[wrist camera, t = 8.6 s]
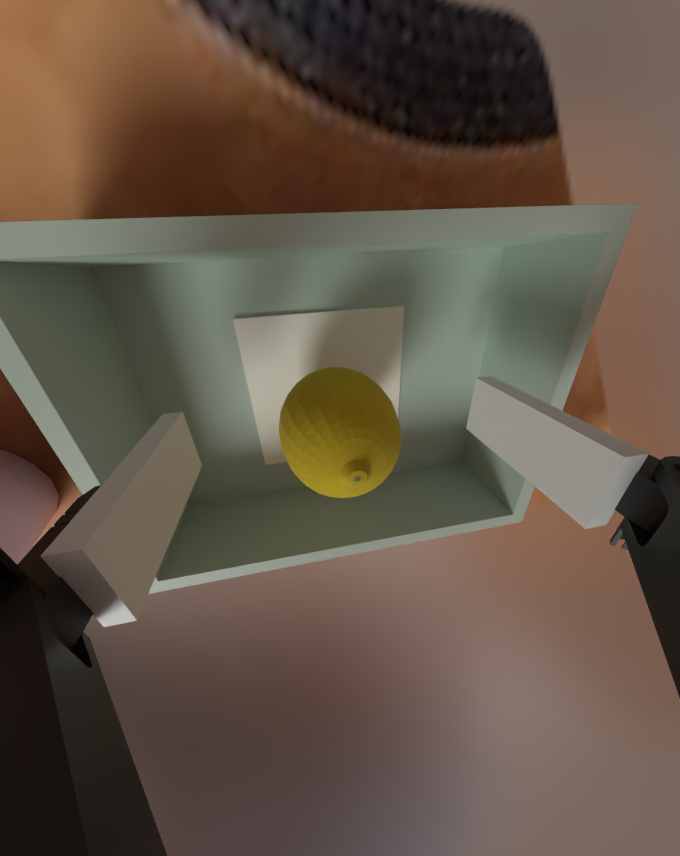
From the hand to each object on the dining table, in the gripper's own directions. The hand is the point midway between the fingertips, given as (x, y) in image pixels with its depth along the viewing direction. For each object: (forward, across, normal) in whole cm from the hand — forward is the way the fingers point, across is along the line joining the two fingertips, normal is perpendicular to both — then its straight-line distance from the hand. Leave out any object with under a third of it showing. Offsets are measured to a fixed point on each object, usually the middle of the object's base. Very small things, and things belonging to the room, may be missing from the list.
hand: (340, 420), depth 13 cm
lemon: (+4, 0, -1) cm, 5 cm away
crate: (+6, 0, 0) cm, 6 cm away
